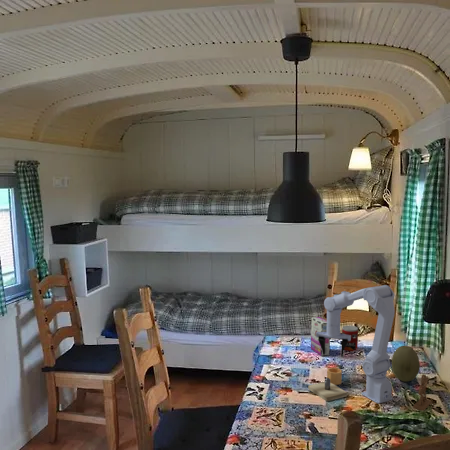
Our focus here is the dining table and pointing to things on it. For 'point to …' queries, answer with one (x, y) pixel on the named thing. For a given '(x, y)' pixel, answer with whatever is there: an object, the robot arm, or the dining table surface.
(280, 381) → the dining table surface
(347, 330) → the canned food
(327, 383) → the post
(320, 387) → the base block
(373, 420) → the dining table surface
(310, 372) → the dining table surface
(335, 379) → the collar
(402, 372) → the fruit
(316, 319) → the candy bar box
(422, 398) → the brown figurine
